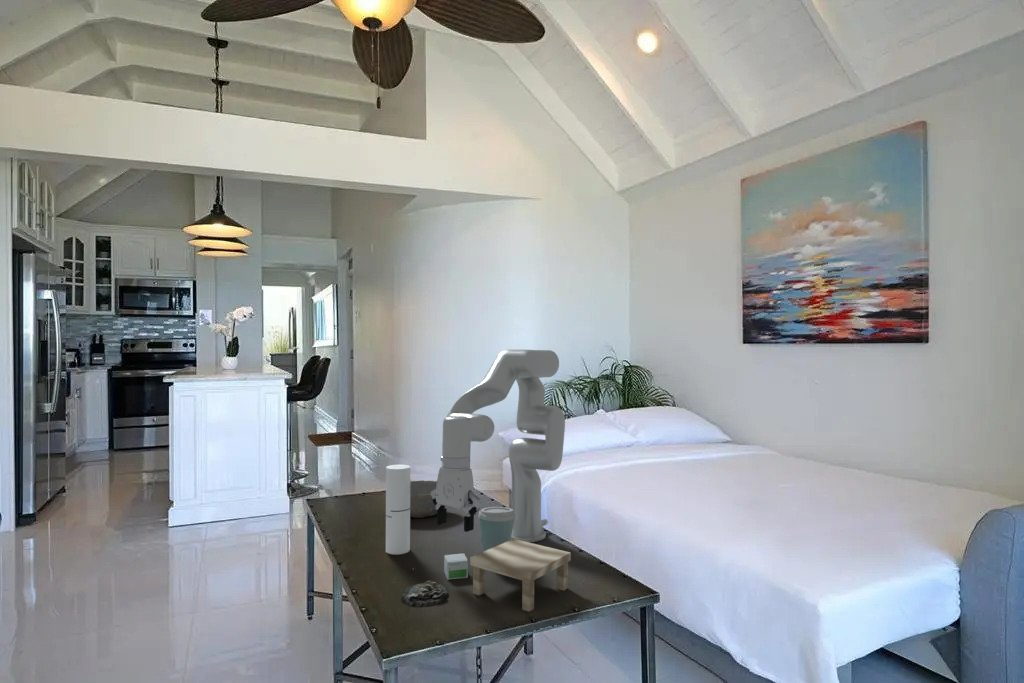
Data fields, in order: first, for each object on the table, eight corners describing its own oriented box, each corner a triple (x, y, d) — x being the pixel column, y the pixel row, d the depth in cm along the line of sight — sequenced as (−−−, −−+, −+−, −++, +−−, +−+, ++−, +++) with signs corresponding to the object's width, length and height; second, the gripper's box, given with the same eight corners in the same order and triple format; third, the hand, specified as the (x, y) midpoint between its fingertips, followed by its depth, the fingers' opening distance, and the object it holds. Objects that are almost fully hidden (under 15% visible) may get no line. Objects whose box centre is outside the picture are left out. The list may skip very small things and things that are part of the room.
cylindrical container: (404, 555, 177) (405, 469, 177) (381, 553, 178) (382, 468, 178) (413, 547, 184) (413, 465, 184) (391, 545, 185) (391, 464, 185)
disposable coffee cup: (472, 557, 175) (473, 505, 175) (507, 552, 179) (507, 502, 179) (484, 569, 165) (485, 514, 165) (521, 564, 169) (521, 511, 169)
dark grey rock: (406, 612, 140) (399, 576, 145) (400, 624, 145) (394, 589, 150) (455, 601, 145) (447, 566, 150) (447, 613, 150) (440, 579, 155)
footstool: (513, 572, 164) (513, 538, 164) (570, 588, 153) (570, 552, 153) (470, 593, 149) (470, 557, 149) (529, 613, 138) (529, 573, 138)
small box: (447, 580, 158) (447, 561, 158) (443, 572, 163) (443, 554, 163) (468, 578, 159) (468, 559, 159) (464, 570, 165) (464, 552, 165)
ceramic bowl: (377, 516, 216) (377, 489, 217) (421, 503, 235) (421, 477, 235) (422, 527, 204) (422, 498, 204) (465, 512, 223) (466, 485, 223)
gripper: (423, 460, 164) (421, 524, 163) (471, 468, 153) (470, 536, 153) (442, 457, 170) (441, 519, 169) (490, 464, 159) (489, 530, 159)
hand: (454, 527), depth 161 cm, fingers open, 9 cm apart
